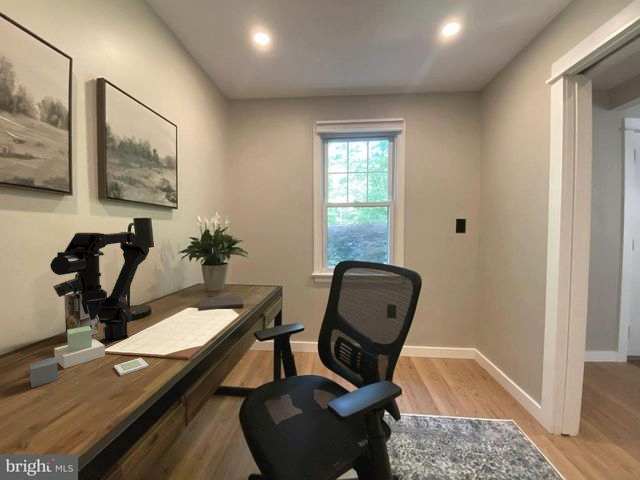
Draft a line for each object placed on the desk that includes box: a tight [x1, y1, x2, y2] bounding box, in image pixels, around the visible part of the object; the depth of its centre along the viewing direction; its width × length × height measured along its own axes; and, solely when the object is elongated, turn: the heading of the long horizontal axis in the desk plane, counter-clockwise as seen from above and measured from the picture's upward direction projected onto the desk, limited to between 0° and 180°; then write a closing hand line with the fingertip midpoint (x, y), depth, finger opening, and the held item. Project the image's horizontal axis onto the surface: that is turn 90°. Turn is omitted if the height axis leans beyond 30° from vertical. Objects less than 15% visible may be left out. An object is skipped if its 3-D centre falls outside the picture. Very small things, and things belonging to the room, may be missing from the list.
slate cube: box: [29, 356, 59, 388], centre depth 76 cm, size 5×5×5 cm
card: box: [113, 357, 149, 377], centre depth 84 cm, size 7×7×1 cm
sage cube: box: [66, 326, 93, 352], centre depth 89 cm, size 6×6×6 cm
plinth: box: [53, 337, 106, 369], centre depth 89 cm, size 10×10×4 cm
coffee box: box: [63, 292, 99, 337], centre depth 108 cm, size 9×6×16 cm
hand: (89, 316), depth 93 cm, fingers open, 9 cm apart
